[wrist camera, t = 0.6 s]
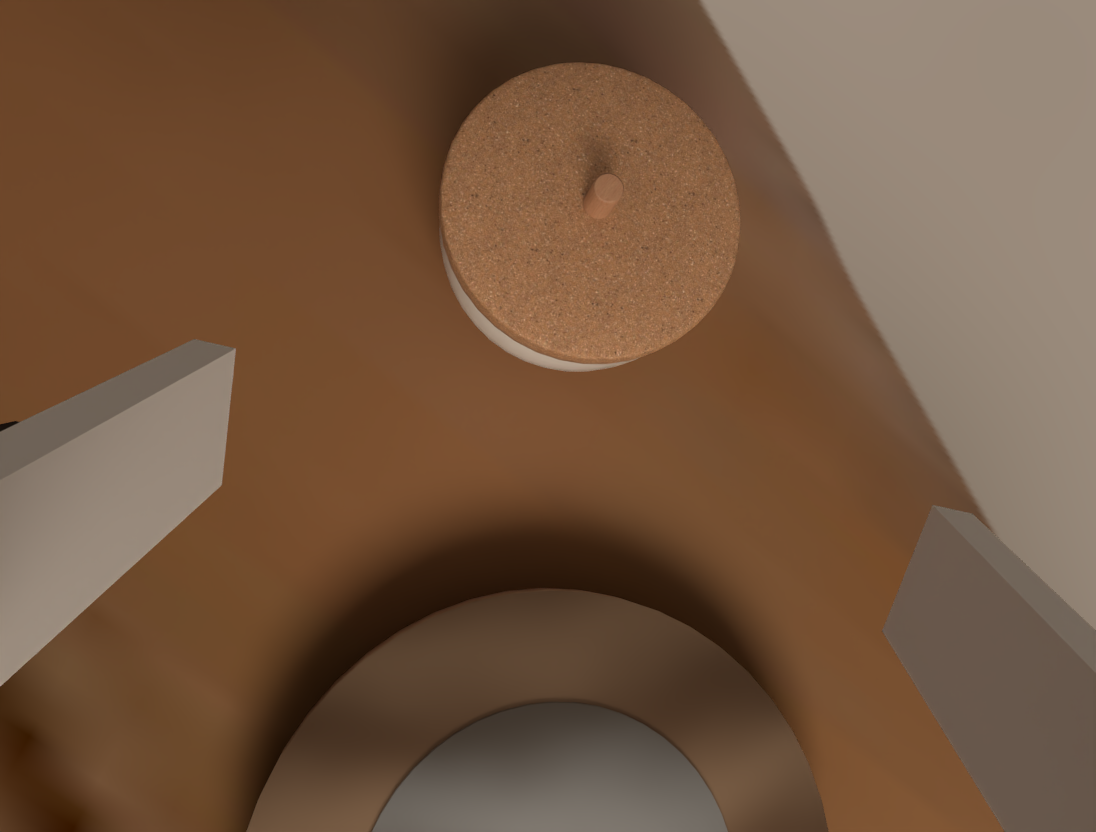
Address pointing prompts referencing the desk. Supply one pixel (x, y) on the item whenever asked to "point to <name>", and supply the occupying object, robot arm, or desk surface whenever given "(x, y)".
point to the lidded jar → (586, 217)
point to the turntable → (543, 730)
